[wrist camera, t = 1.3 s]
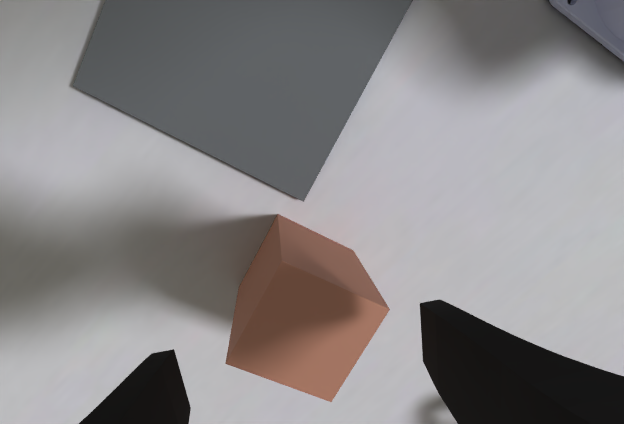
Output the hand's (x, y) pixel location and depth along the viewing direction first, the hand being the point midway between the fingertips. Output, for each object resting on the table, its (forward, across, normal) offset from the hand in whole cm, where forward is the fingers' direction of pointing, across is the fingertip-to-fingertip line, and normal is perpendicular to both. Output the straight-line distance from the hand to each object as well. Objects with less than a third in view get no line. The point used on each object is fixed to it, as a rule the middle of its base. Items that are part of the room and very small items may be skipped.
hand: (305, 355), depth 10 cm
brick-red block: (+9, 0, +1) cm, 9 cm away
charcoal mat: (+8, 0, -10) cm, 13 cm away
